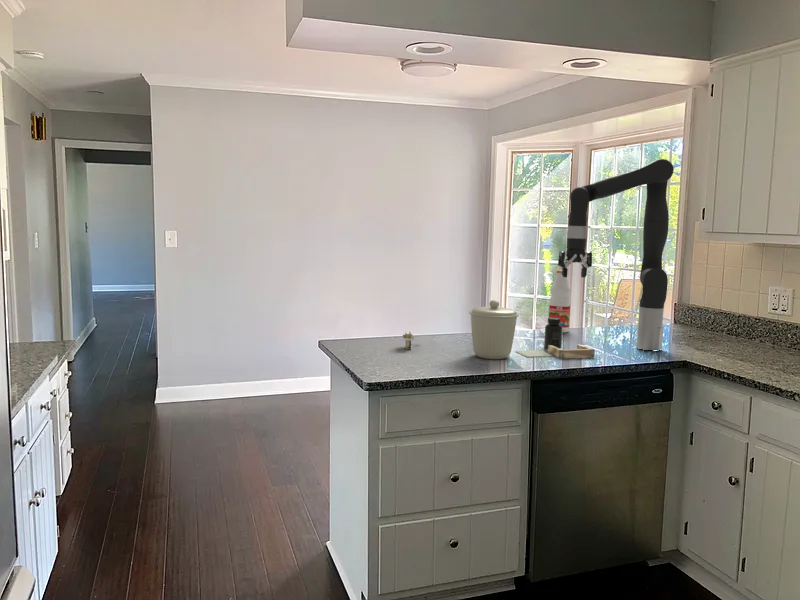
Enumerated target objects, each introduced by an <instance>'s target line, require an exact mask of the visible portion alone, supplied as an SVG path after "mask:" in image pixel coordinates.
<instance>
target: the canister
mask: <svg viewBox="0 0 800 600" xmlns="http://www.w3.org/2000/svg"><path fill="white" fill-rule="evenodd" d="M488 305H489V306H479V307H474V308H472V309H471V310H469V311H468V314H470V326H471V337H472V338H471V339H472V348H473V349H472V350H473V352H474V353H473V354H475V355H476V357H478V358H482V359H484V360H485V359H486V360H503V359H507V358H509V356H510V355H511V353H512V348H513V344H514V337H515V331H516V325H517V320H518V319H517V318H518V317H519V315H520V314H519V313H518V312H517V311H516V310H514V309H512V308H508V307H502V306H500V301H498V300H497V299H493V300H490V302H489V304H488Z"/></svg>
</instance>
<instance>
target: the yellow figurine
mask: <svg viewBox="0 0 800 600" xmlns="http://www.w3.org/2000/svg"><path fill="white" fill-rule="evenodd" d="M402 338H403V341H404V340H405V341H404V342H405V350H408V348H409V347H410V348H409V351H411V350H412V341H414V340H415V338H414V336H413V334H412V333H411V331H409V333H407V332H406V331H405V334H402Z"/></svg>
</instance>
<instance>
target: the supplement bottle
mask: <svg viewBox="0 0 800 600" xmlns="http://www.w3.org/2000/svg"><path fill="white" fill-rule="evenodd" d="M562 341H563V333H562V326H561V325H560V318H549V317H548V318H547V324H545V327H544V343H543V344H544V345H543V347H544V348H545V349H547V350H548V345H552V346H555V347H557V348H560V349H562V343H563V342H562Z"/></svg>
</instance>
